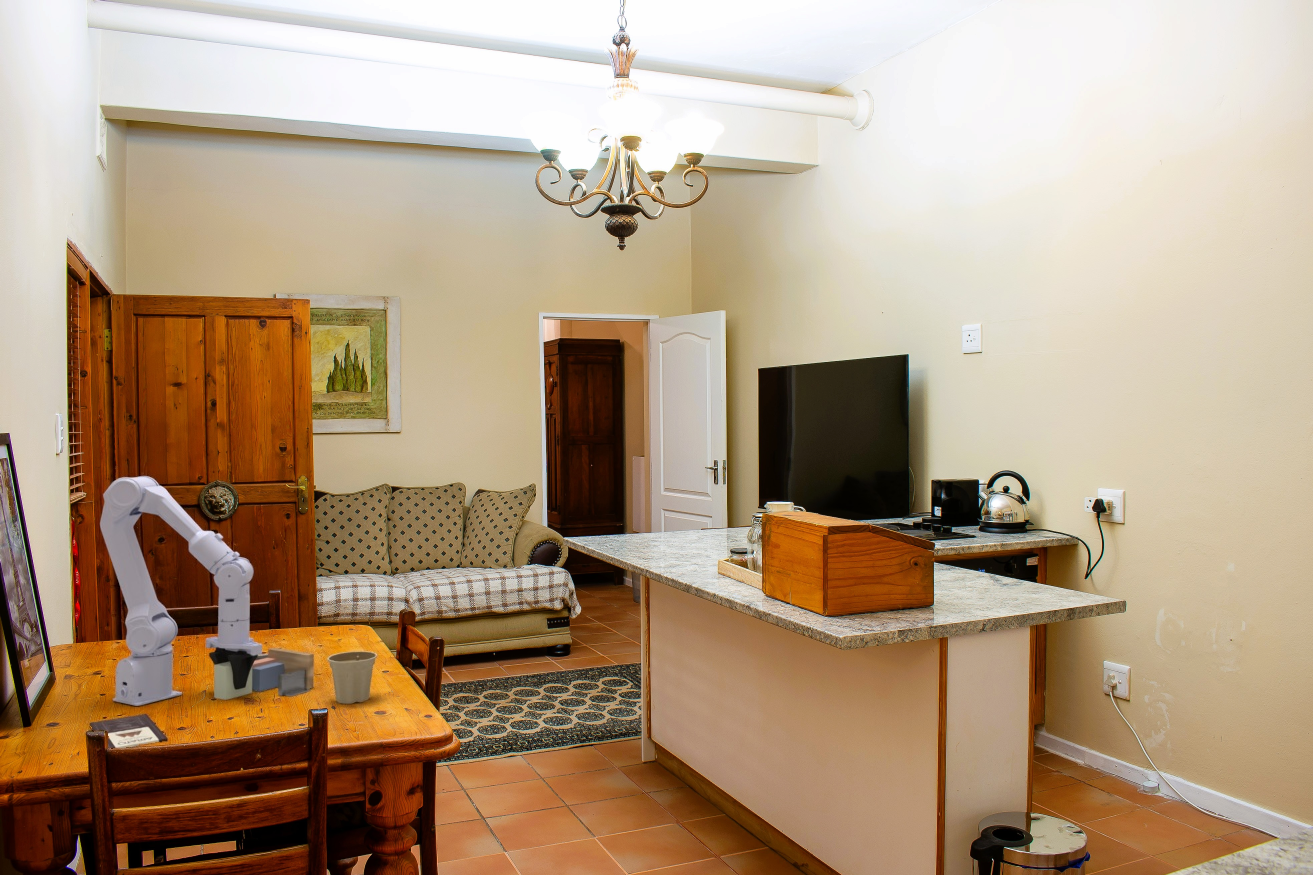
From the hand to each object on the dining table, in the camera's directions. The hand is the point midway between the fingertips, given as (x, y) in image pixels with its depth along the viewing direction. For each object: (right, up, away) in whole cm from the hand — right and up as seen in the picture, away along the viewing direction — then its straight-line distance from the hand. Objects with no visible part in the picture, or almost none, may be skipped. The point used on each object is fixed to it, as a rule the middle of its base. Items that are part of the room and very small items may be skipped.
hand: (233, 686), depth 183 cm
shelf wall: (+8, -2, +8) cm, 12 cm away
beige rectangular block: (0, -2, 0) cm, 2 cm away
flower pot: (+25, -2, -3) cm, 25 cm away
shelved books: (+3, -2, +6) cm, 7 cm away
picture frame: (-3, -3, +21) cm, 21 cm away
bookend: (+11, -2, +2) cm, 11 cm away
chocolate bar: (-7, -2, -25) cm, 26 cm away
